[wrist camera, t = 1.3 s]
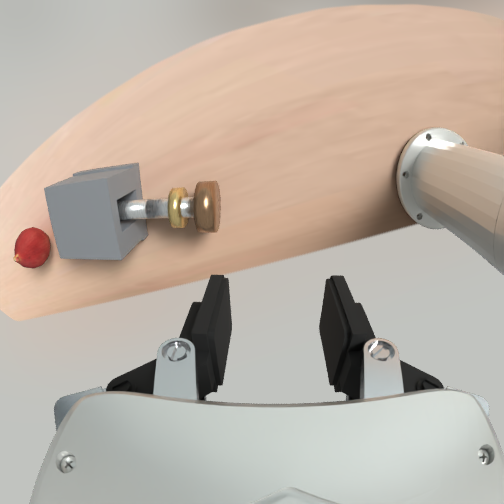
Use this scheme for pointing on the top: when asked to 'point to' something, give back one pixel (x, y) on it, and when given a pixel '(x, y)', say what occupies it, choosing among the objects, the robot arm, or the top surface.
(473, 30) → the top surface
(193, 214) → the shaft
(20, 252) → the onion
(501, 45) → the top surface
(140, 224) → the housing
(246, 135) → the top surface
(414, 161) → the robot arm
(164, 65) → the top surface
